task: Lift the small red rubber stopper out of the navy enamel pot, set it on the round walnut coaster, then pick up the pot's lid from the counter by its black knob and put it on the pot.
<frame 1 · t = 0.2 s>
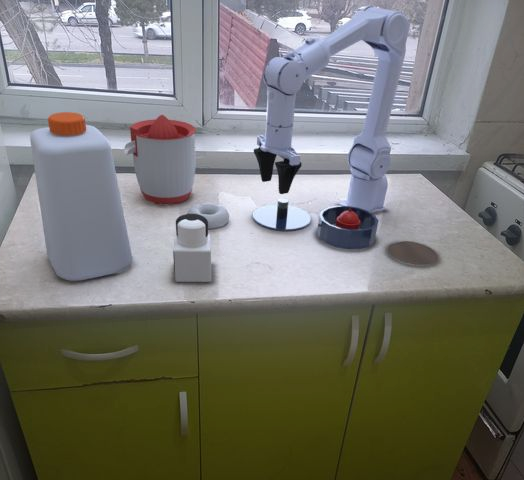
hand: (274, 186, 116), 10 cm above the worktop, tool pointing down, fingers open, 7 cm apart
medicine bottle: (193, 274, 104), on the worktop
lid: (281, 218, 125), point 1 cm above the worktop
plastic bottle: (90, 262, 105), on the worktop
red rubber stopper: (345, 235, 120), resting on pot
coaster: (412, 254, 116), on the worktop
citrus juicer: (163, 197, 132), on the worktop
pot: (345, 237, 120), on the worktop
donut: (208, 223, 122), on the worktop
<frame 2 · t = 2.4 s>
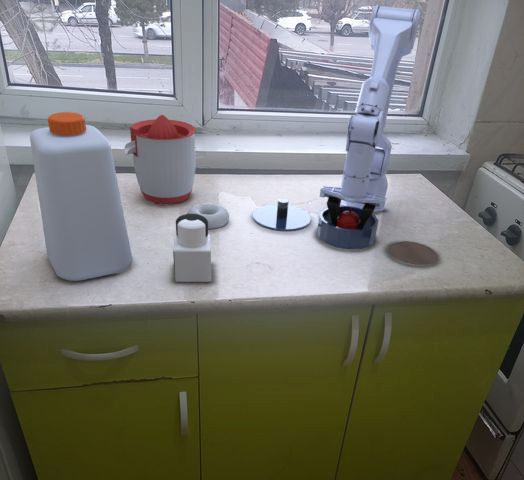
hand: (346, 231, 119), 2 cm above the worktop, tool pointing down, fingers closed on red rubber stopper, 5 cm apart
red rubber stopper: (345, 235, 120), point 1 cm above the worktop, touching gripper, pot
everything else where it was.
when the fingers open (2 cm above the worktop, at t = 7.8 s): red rubber stopper stays where it is, resting on coaster.
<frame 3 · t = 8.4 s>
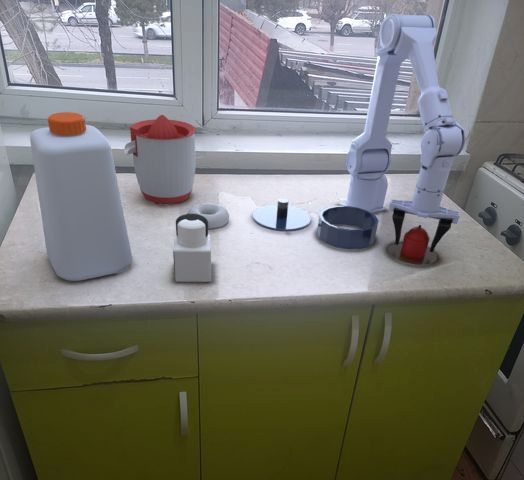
hand: (414, 246, 115), 2 cm above the worktop, tool pointing down, fingers open, 7 cm apart
red rubber stopper: (412, 252, 115), resting on coaster
everything else where it was.
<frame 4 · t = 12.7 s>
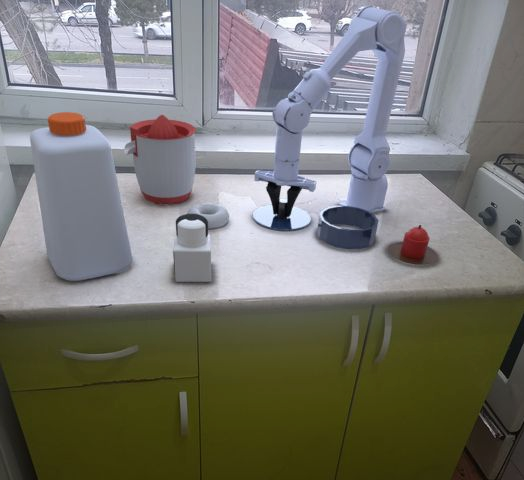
hand: (282, 214, 125), 2 cm above the worktop, tool pointing down, fingers closed on lid, 2 cm apart
lid: (281, 218, 125), point 1 cm above the worktop, touching gripper
everything else where it was.
when the fingers open (6 cm above the worktop, at t = 16.6 s): lid stays where it is, resting on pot.
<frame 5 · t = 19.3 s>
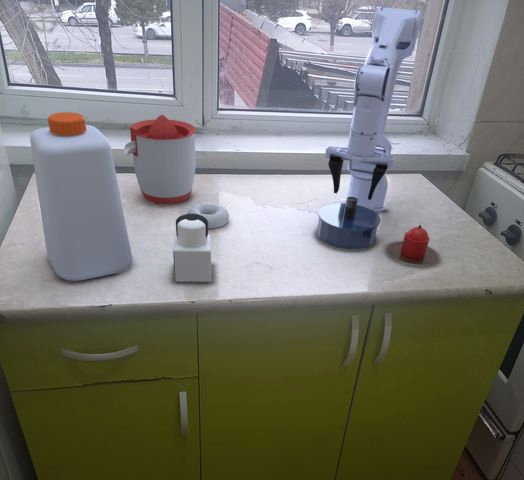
hand: (352, 194, 114), 10 cm above the worktop, tool pointing down, fingers open, 7 cm apart
lid: (349, 217, 117), point 5 cm above the worktop, touching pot
everything else where it was.
at the end: red rubber stopper 0.1 cm off-centre on the coaster, point 0.5 cm above the coaster's base; lid 0.1 cm off-centre on the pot, point 5.0 cm above the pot's base; lid tilted 0° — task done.
